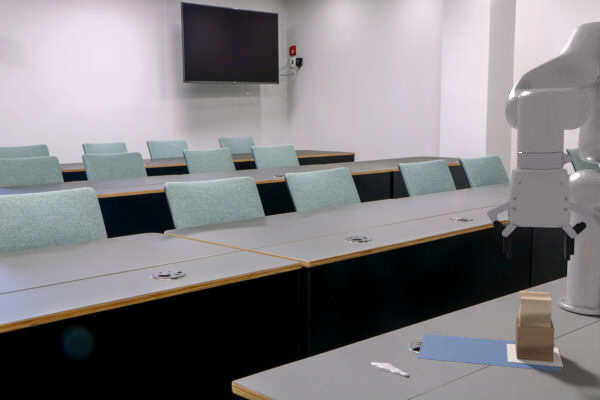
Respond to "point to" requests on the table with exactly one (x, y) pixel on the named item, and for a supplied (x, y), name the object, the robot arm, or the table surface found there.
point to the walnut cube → (534, 342)
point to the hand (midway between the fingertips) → (537, 257)
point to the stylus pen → (389, 368)
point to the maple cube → (535, 309)
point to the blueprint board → (481, 352)
